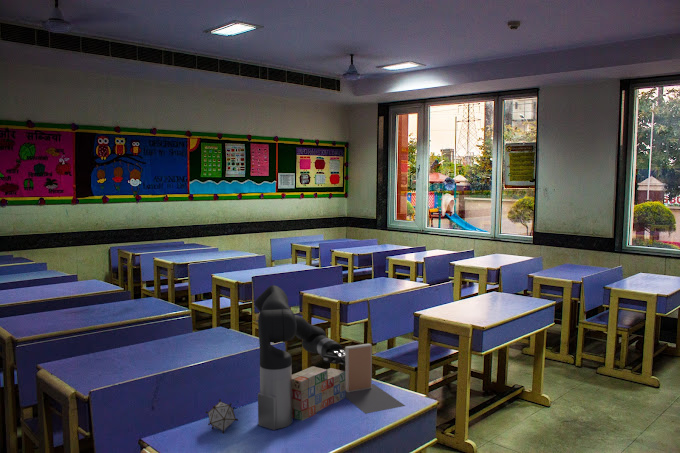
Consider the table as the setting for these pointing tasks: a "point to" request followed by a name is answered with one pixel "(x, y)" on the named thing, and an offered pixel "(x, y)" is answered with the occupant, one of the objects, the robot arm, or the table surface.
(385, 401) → the mat
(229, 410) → the game die
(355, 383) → the tile
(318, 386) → the stack of blocks
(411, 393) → the table surface
